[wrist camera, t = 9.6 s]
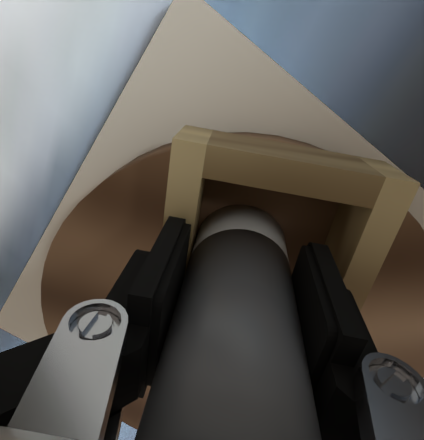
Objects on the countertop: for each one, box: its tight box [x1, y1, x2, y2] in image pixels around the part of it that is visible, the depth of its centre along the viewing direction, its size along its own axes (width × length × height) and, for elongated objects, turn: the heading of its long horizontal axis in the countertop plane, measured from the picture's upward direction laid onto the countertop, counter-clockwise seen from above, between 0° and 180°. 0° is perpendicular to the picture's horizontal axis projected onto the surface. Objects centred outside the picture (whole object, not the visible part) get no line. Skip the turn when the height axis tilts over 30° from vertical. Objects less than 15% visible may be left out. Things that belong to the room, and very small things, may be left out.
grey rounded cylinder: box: [135, 205, 322, 440], centre depth 9 cm, size 4×4×10 cm
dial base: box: [0, 0, 424, 343], centre depth 18 cm, size 21×21×2 cm
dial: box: [41, 125, 424, 430], centre depth 15 cm, size 19×19×4 cm
